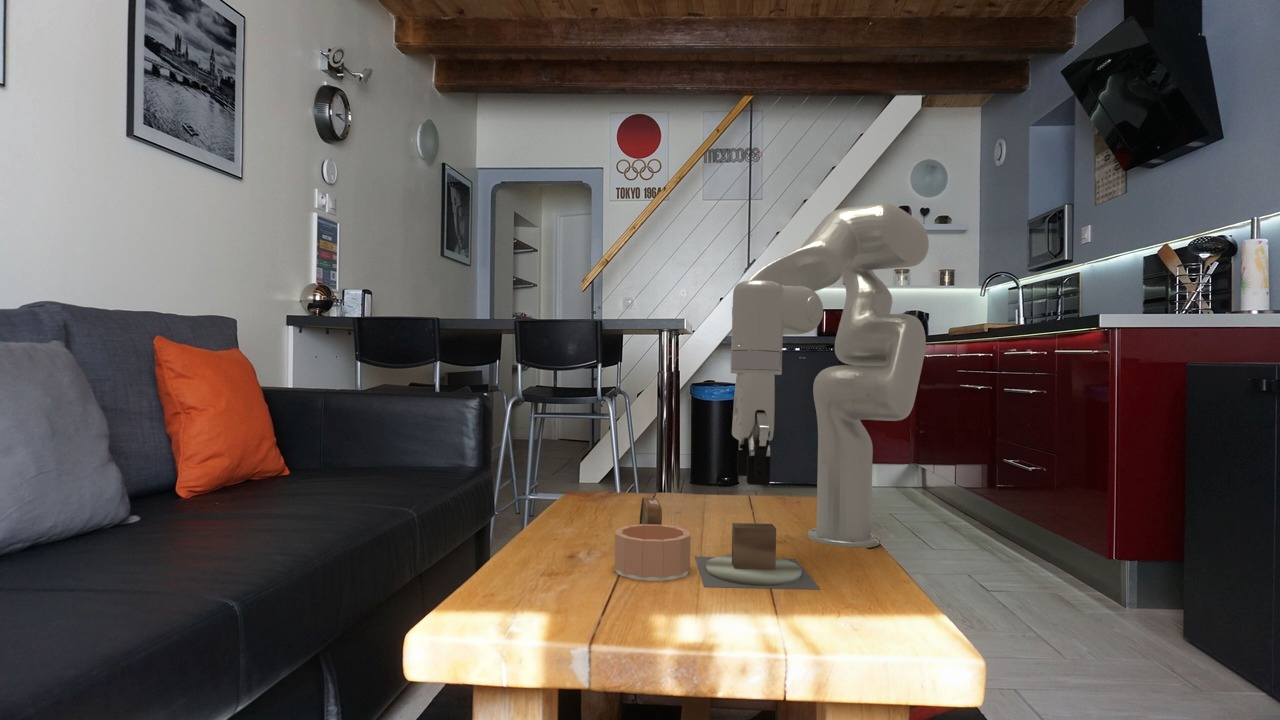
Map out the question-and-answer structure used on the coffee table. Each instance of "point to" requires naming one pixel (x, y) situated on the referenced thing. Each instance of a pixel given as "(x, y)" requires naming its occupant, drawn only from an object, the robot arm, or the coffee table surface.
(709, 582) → the mat
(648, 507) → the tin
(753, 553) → the lid
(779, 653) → the coffee table surface
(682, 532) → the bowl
